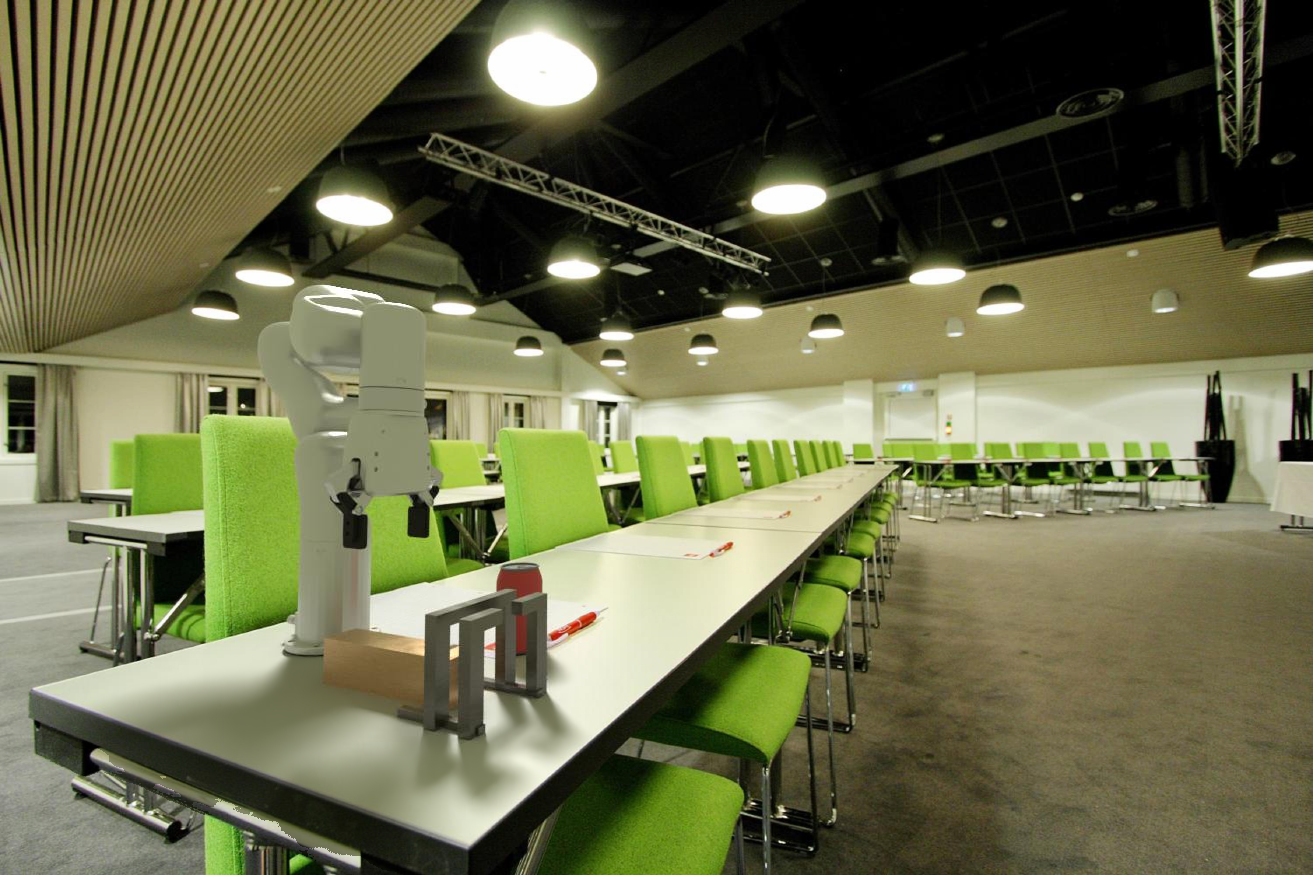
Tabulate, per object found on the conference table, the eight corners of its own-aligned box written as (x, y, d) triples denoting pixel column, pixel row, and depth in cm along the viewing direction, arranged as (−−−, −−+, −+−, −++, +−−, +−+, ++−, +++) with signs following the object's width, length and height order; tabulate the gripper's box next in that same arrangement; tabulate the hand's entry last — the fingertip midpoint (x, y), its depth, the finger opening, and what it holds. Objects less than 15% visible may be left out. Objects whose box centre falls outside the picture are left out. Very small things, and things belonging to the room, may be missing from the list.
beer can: (530, 657, 80) (531, 570, 81) (486, 654, 82) (488, 568, 82) (549, 643, 87) (549, 562, 87) (508, 640, 88) (508, 560, 88)
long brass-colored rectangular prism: (322, 683, 71) (324, 637, 71) (355, 670, 75) (356, 627, 76) (448, 711, 63) (448, 660, 63) (476, 696, 67) (477, 647, 68)
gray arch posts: (389, 720, 61) (391, 609, 61) (474, 677, 73) (476, 585, 73) (471, 740, 56) (472, 621, 57) (548, 691, 68) (549, 593, 69)
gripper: (421, 410, 82) (418, 531, 81) (306, 399, 66) (301, 550, 65) (463, 409, 79) (460, 535, 79) (354, 398, 63) (349, 556, 63)
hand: (388, 542), depth 72 cm, fingers open, 9 cm apart
